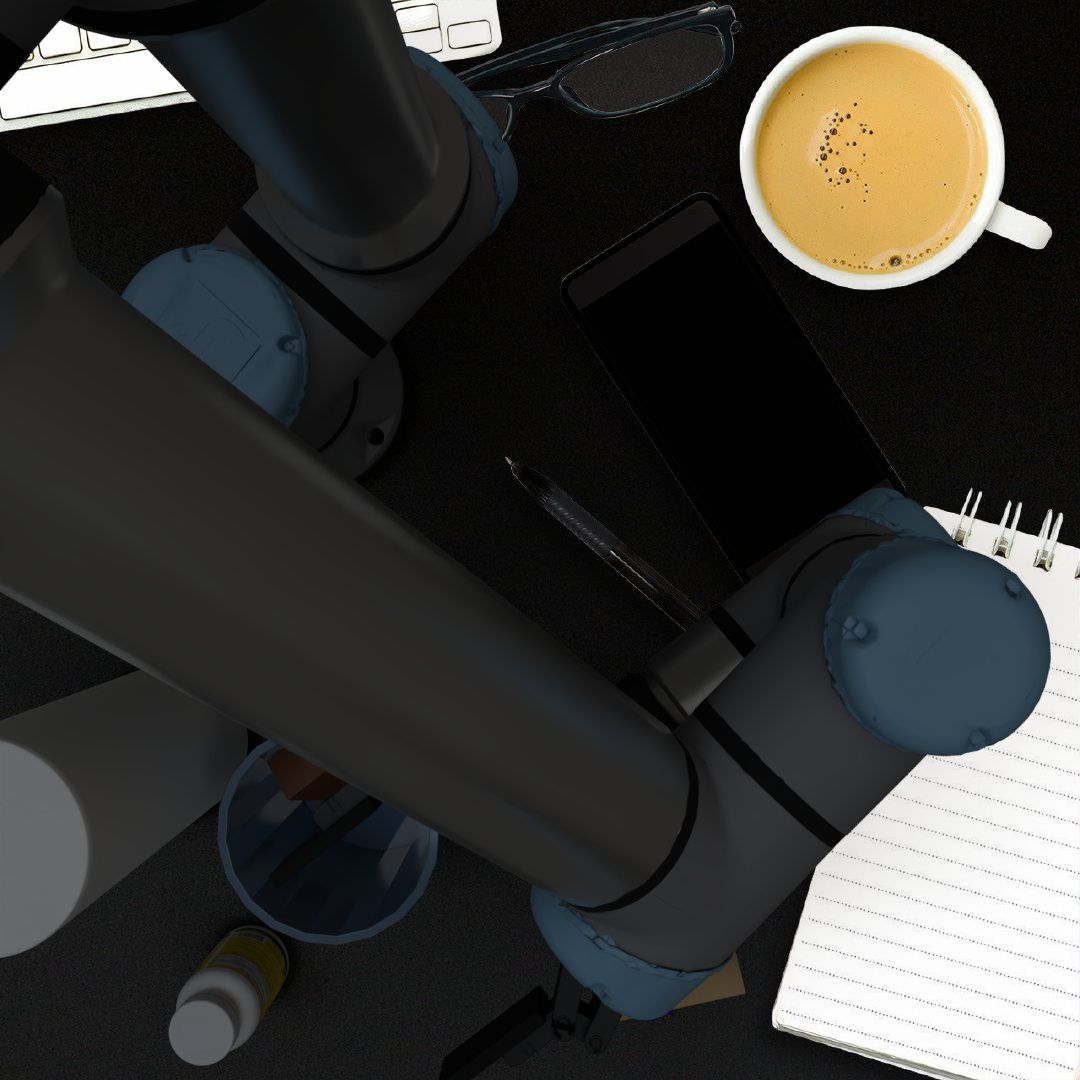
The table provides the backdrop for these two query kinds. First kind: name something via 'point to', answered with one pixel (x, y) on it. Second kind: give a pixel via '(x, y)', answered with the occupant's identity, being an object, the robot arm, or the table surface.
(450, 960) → the table surface
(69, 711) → the cylinder
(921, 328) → the table surface
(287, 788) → the chocolate box
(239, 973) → the pill bottle
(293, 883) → the bin
